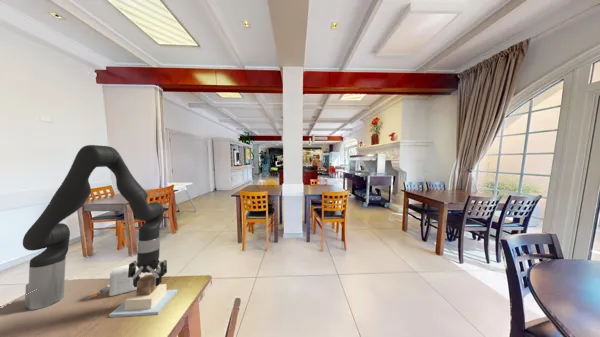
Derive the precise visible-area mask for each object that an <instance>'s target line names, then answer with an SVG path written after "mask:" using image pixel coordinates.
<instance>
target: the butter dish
mask: <svg viewBox="0 0 600 337" xmlns="http://www.w3.org/2000/svg"><path fill="white" fill-rule="evenodd" d="M167 286H168V285H167V283H160V284H159V285H158V286H157V288H156V289H155V290H154V291H153V292H152V293H151V294H150V295H143V296H136V295H137V290H135V291H134V292H133V293H132V294H131V295H129V296H128V297H127V298H126V299H125V300H124V302H123V303H121V304H120V305H119V306H118V307H116V308H115V309H114V310H112V312H111V313H110V314H109V316H108V318H119V317H138V316H152V315H153V316H155V315H159V314H160V313H161V312H162V311H163V310H164V308H165V307H166V306H167V305H168V303H169V302H170V301H171V300H172V299H173V298H174V296H176V295H177V293H178V291H179V289H176V288H175V289H167Z"/></svg>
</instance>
